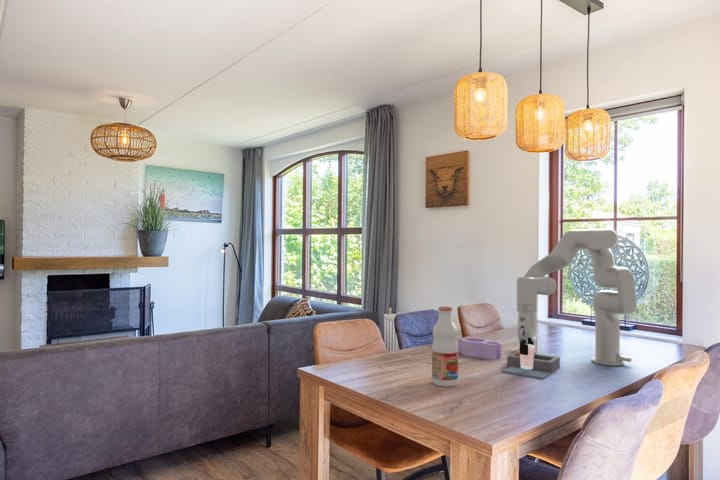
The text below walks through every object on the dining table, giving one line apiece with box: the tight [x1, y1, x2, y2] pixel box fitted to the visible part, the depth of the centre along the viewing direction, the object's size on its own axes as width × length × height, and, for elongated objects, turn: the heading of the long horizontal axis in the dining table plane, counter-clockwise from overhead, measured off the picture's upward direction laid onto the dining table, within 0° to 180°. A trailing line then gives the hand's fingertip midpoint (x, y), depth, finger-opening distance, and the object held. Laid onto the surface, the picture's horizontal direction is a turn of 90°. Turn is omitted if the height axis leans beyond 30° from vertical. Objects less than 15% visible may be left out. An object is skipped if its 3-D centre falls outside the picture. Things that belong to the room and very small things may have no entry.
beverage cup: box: [519, 344, 535, 369], centre depth 187 cm, size 6×6×14 cm
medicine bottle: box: [517, 335, 538, 354], centre depth 228 cm, size 7×7×12 cm
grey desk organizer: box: [506, 351, 561, 375], centre depth 197 cm, size 18×12×4 cm, turn 52°
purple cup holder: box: [457, 336, 502, 361], centre depth 219 cm, size 20×12×7 cm, turn 42°
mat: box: [502, 366, 552, 380], centre depth 187 cm, size 16×9×1 cm, turn 52°
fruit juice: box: [431, 306, 459, 388], centre depth 173 cm, size 9×9×28 cm
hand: (526, 352), depth 187 cm, fingers closed on beverage cup, 6 cm apart
